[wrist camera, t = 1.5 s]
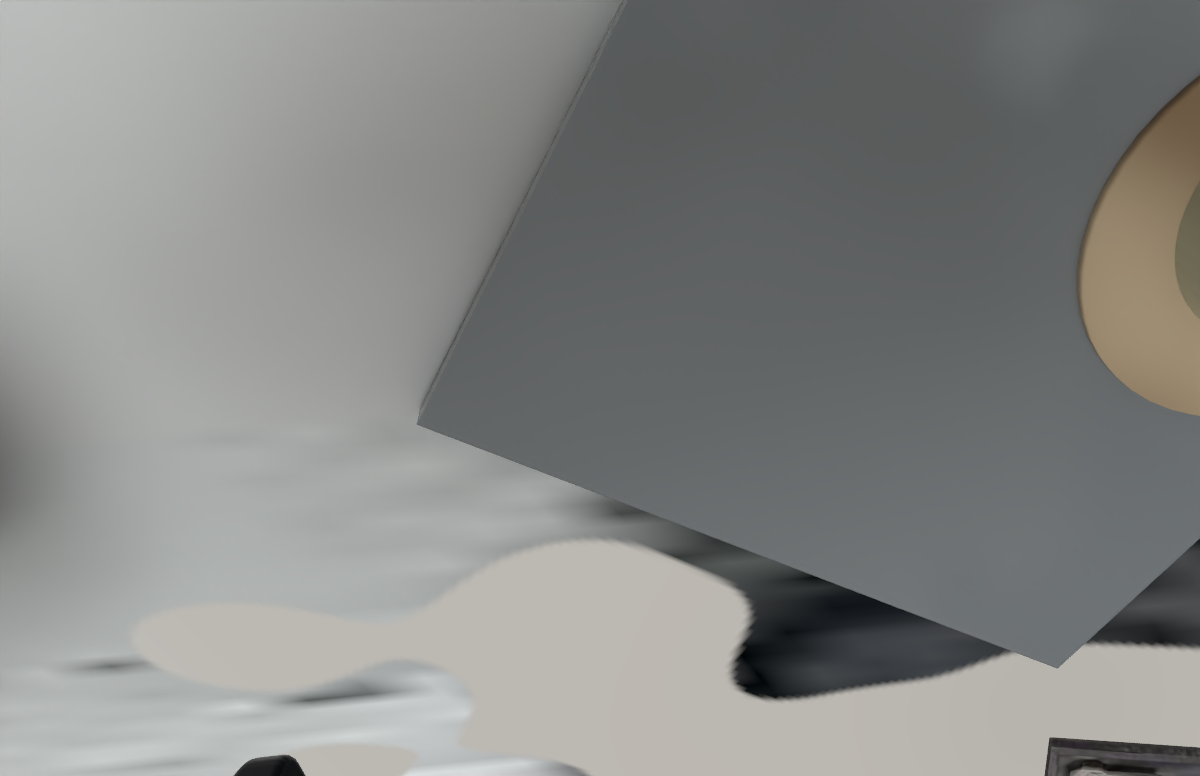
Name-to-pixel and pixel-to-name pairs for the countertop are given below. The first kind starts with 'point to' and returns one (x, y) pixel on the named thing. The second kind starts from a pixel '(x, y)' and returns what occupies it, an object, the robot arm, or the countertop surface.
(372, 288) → the countertop surface
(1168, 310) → the cork mat
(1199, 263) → the cloche
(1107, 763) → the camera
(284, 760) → the robot arm
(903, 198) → the slate board
